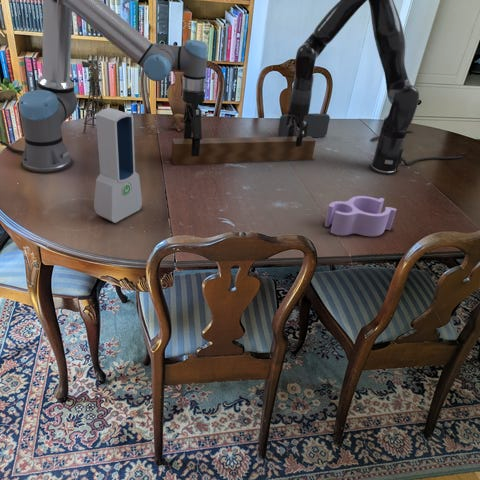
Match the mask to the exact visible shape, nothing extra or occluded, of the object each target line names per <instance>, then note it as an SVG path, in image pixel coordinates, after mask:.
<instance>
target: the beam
mask: <svg viewBox="0 0 480 480" xmlns="http://www.w3.org/2000/svg"><path fill="white" fill-rule="evenodd" d="M296 138H297V136H294V137H279V136H252V137H249V136H247V137H204V138H203V137H202V139H200V150H199V156H191V149H192V139H184V138H171V162H172V163H173V165H174V166H179V165H180V166H181V165H205V164H228V163H229V164H230V163H231V164H232V163H258V162H259V163H261V162H286V161H287V162H289V161H290V162H291V161H313V158H314V152H315V148H316V147H315V146H316V142H317V141H316V140H315V139H314V137H311V136H306V137H303V139H302V145H301V146H300V147H297V146H296Z"/></svg>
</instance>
